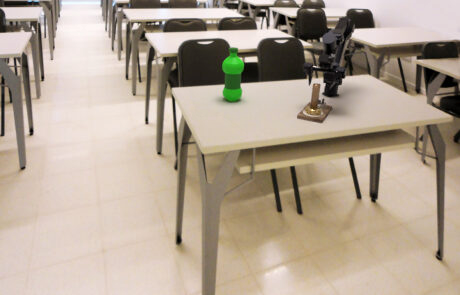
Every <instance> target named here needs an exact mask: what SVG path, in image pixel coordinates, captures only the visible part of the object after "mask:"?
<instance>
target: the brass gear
mask: <svg viewBox="0 0 460 295" xmlns="http://www.w3.org/2000/svg"><path fill="white" fill-rule="evenodd" d="M311 89H312V90H311V96H310V97H311V98H310V102H311V104H310V106H307V107H306V108H305V113H307V114H308V115H313V116H316V115H321V111H322V109H321V108H319V107H318V100H320V99H319V98H320V91H321V84H320V83H317V82H315V83H313V84H312V88H311Z"/></svg>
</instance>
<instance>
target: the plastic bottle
mask: <svg viewBox="0 0 460 295" xmlns="http://www.w3.org/2000/svg"><path fill="white" fill-rule="evenodd" d="M228 53H229V56H227V57H226V58H225V59H224V60H223V62H222V65H221V66H222V67H221V68H222V71H223V73H224V87H223V89H222V95H223V97H224V98H225V99H226V100H227V101H228V102H237V101H238V100H239V99H241V97H242V95H243V88H242V87H241V83H242V72H244V69H245V68H244V67H245V63H244V61H243V60H242V59H241V58H240V56H238V53H239V48H238V47H233V46H232V47H229V48H228Z"/></svg>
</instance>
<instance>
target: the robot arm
mask: <svg viewBox="0 0 460 295" xmlns="http://www.w3.org/2000/svg"><path fill="white" fill-rule="evenodd" d="M336 23H337V24H336V25H335V27H334V28H333V29H329V30H328V32H326V33H324V34H323V35H322V36H321V37H322V38H321V41H322V47H323V53H319V54H318V58H317V62H318V63H317V64H318V66H315V65H314V62H309V61H306V62H304V63H303V65H302V69H303V73H305V74H306V75H307V77H308V78H307V79H308V80H307V81H308V86H311V84H312V80H313V77H314V72H322V73H323V79H322V83H323V84H325V85H324V87H323V88H324V89H323V92H321V94H322V95H324V96H327V97H328V98H334V97H338V96H339V97H340V94H339V93H338V91H339V87H340V86H342V85H343V80H344V79H346V76H347V68H346V67H345V66H341V63H342V60H343V56H344V52H345V49H346V45H347V42H348V40H350V39H351V38H352V37H353V34H354V33H355V29H356V25H355V22H354V21H352V20H351V18H349V17H339V18H338V21H337V22H336Z"/></svg>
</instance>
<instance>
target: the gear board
mask: <svg viewBox="0 0 460 295" xmlns="http://www.w3.org/2000/svg"><path fill="white" fill-rule="evenodd" d="M310 104H311V101H309V102H308V103H307V104H306V105H305V106H304V107H303V108H302V109H301V110H300V112H299V113H298V114H297V115H296V116H297V117H296V118H297V119H300V120H304V121H311V122H315V123H319V124H322V123H323V122H324V121H325V119H326V118H327V117H328V115H329V114H330V113H331V111H332V110H333V105H331V104H327V102H325V98H322V99H319V100H318V107H319V108H321V109H322V111H321V115H316V116H313V115H308V114H307V113H305V108H306V107H307V106H310Z"/></svg>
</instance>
